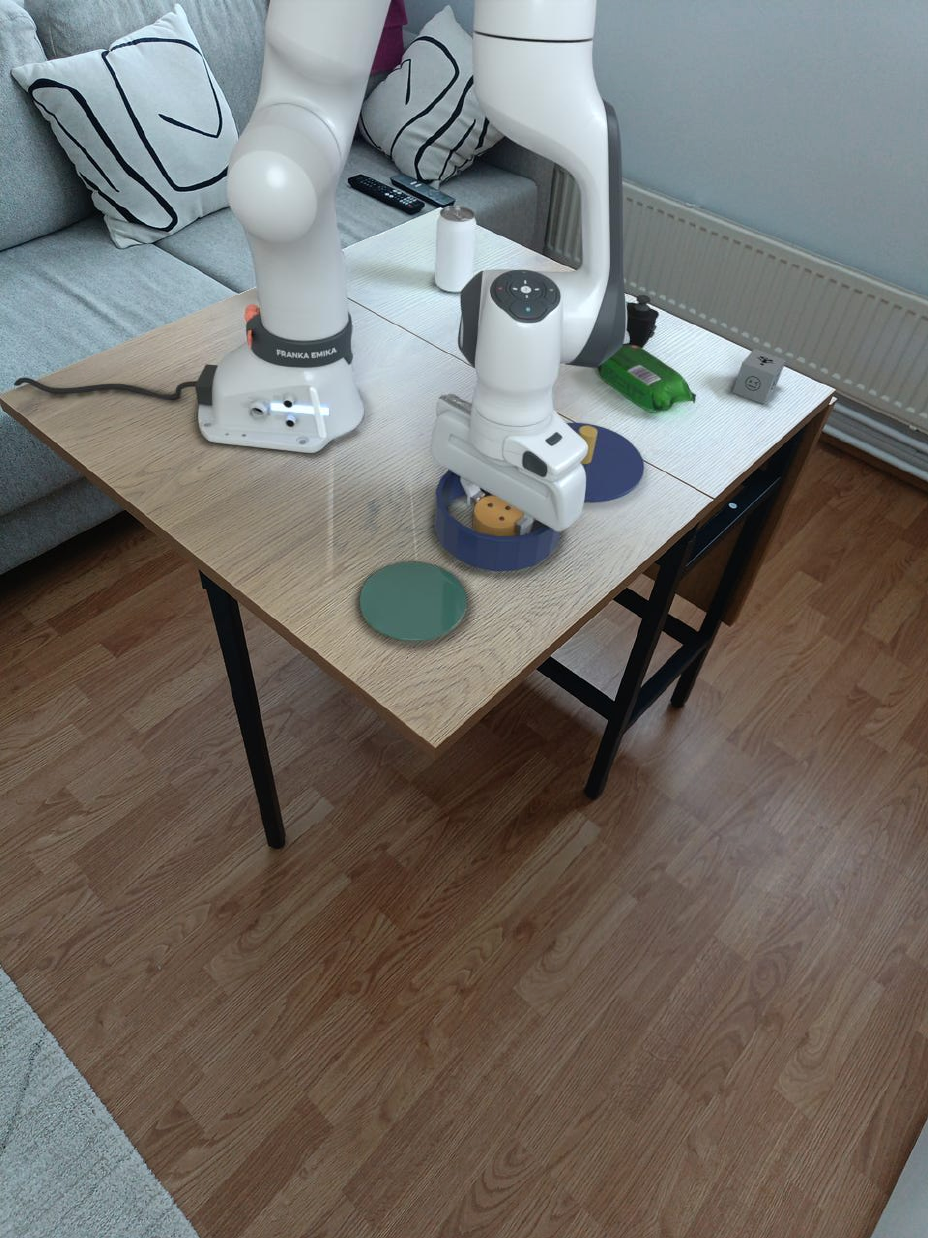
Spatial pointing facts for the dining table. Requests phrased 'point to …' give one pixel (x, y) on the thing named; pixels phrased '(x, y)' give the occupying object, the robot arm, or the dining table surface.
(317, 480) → the dining table surface
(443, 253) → the can
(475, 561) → the cookie tin
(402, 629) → the plate
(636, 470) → the tin lid
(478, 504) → the cookie
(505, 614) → the dining table surface
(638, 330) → the controller
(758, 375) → the dice cube
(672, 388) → the snack package
